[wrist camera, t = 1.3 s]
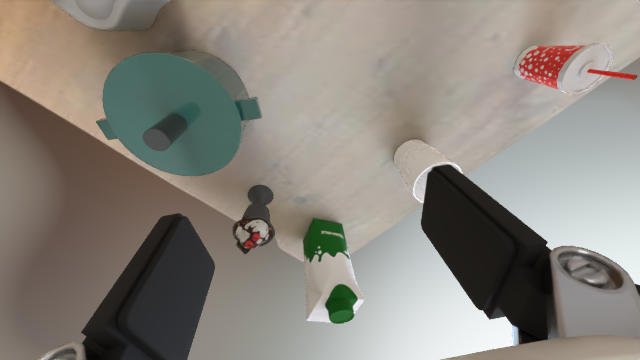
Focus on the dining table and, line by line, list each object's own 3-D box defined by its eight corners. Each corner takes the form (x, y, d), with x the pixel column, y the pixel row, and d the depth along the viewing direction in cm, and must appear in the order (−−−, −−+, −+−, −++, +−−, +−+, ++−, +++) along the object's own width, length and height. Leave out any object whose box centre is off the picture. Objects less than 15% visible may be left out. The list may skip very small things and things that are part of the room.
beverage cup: (556, 47, 37) (679, 56, 25) (528, 86, 40) (626, 111, 28) (528, 34, 35) (645, 37, 24) (501, 76, 38) (592, 97, 27)
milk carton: (347, 221, 53) (373, 311, 36) (332, 248, 57) (349, 339, 40) (310, 214, 50) (320, 306, 34) (298, 242, 55) (301, 336, 38)
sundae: (270, 177, 44) (262, 236, 32) (282, 203, 48) (278, 265, 35) (237, 186, 45) (216, 247, 32) (251, 211, 48) (237, 275, 36)
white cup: (386, 172, 47) (407, 204, 38) (395, 135, 42) (421, 162, 34) (423, 172, 48) (452, 203, 39) (436, 135, 43) (470, 161, 35)
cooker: (113, 59, 32) (55, 70, 24) (253, 41, 32) (241, 45, 24) (162, 149, 39) (130, 180, 31) (274, 133, 40) (271, 159, 32)
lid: (78, 61, 24) (20, 70, 19) (220, 42, 24) (201, 46, 19) (150, 178, 32) (123, 207, 27) (256, 163, 32) (250, 188, 27)
